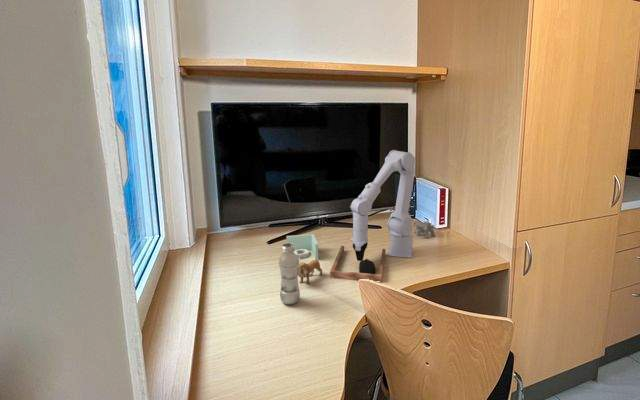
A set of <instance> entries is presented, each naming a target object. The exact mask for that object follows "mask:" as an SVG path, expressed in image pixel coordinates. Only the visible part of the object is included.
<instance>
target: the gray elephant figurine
mask: <svg viewBox="0 0 640 400" xmlns="http://www.w3.org/2000/svg"><path fill="white" fill-rule="evenodd" d="M413 226H414V228H415V229H414V231H413V233H414V234H416V236H418V237H419V236H420V234H424V239H429V238H430V235H429V233H430V234H431V236H432V237H435V236H436V232H435V230H434V228H435V225H434V224H432V223H431V222H428V221H414V222H413Z"/></svg>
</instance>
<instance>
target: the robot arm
mask: <svg viewBox="0 0 640 400" xmlns="http://www.w3.org/2000/svg"><path fill="white" fill-rule="evenodd" d="M415 163H416V157H415V155H413V153H412V152H409V151H408V152H406V151H399V150H397V149H392V150H390V151H389V153H388V154H387V156H385V158H384V163H383V165H382V167H381V168H380V170H379V171H378V173H377V174H376V176H375V178H374V179H373V181H372V182H369V183H367V184H365V186H364V189H363V190H362V191H361V193H360V194H359V195H358V196H357V198H355V199H353V200H352V202H351V203H350V206H349V208H350V210H351V212H352V220H353V221H352V225H353V226H352V237H350V238H349V241H350V242H352V248H353V250H354V253H355V257H356V260H357V262H360V261H363V260H364V255H365V251H366V249H367V247H368V243H369V239H368V234H369V232H368V231H369V230H368V229H369V226H368V225H369V223H368V221H369V213H371V212H372V207H373V203H374V201H375V200H376V198H377V197H378V196H379V194H380V193H381V187H382V185H383V184H384V183H385V182H386V181H387V179H388V178H389V177H390V176H391V174H392V173H394V172H398V173H399V174H400V176H399V184H398V189H397V195H396V196H397V197H396V201H395V202H396V203H395V208H394V211H392V212H391V213H390V214H389V215H390V216H389V219H388V220H387V224H386V227H387V229H388V230H389V233H390V247H389V248H388V257H396V258H406V259H407V258H409V259H410V258H413V252H414V247H413V245H414V244H413V242H414V241H413V240H414V239H413V238H414V237H413V236H414V235H413V234H411V233H412V231H413V218H412V217H411V215H410V213H409V210H410V203H411V199H412V198H411V197H412V192H413V188H414V187H413V186H414V185H413V184H414V180H415V173H416V168H415Z"/></svg>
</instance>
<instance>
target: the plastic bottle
mask: <svg viewBox="0 0 640 400" xmlns="http://www.w3.org/2000/svg"><path fill="white" fill-rule="evenodd" d="M281 247H282V249H281V252H282V253H281V255H280V257H279V258H278V267H279V270H280V280H281V281H280V282H281V283H280V291H279V297H280V301H281V302H282V304H285V305H295V304H297V303H298V302H299V300H300V298H301V292H300V288H299V287H300V286H299V280H298V279H299V276H298V266H299V264H300V258H299V259H298V257H297V255H296V254H295V253H294V245H293V244H291V243H287V242H285V243H283V244H282V246H281Z"/></svg>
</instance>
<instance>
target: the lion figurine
mask: <svg viewBox="0 0 640 400" xmlns="http://www.w3.org/2000/svg"><path fill="white" fill-rule="evenodd" d="M315 269H316V270H317V271H318V272H319V274H318V275H319V276H321V277H322V276H323V269H322V268H321V264H320V261H319V259H318V260H315V259H312V260H310V261H309V262H308V263H306V262H299V266H298V278H300V280H299V283H300V284H303V283H304V279H305V278H306V280H305V281H306V283H305V285H310V277H312V276H313V275H314V273H315Z"/></svg>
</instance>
